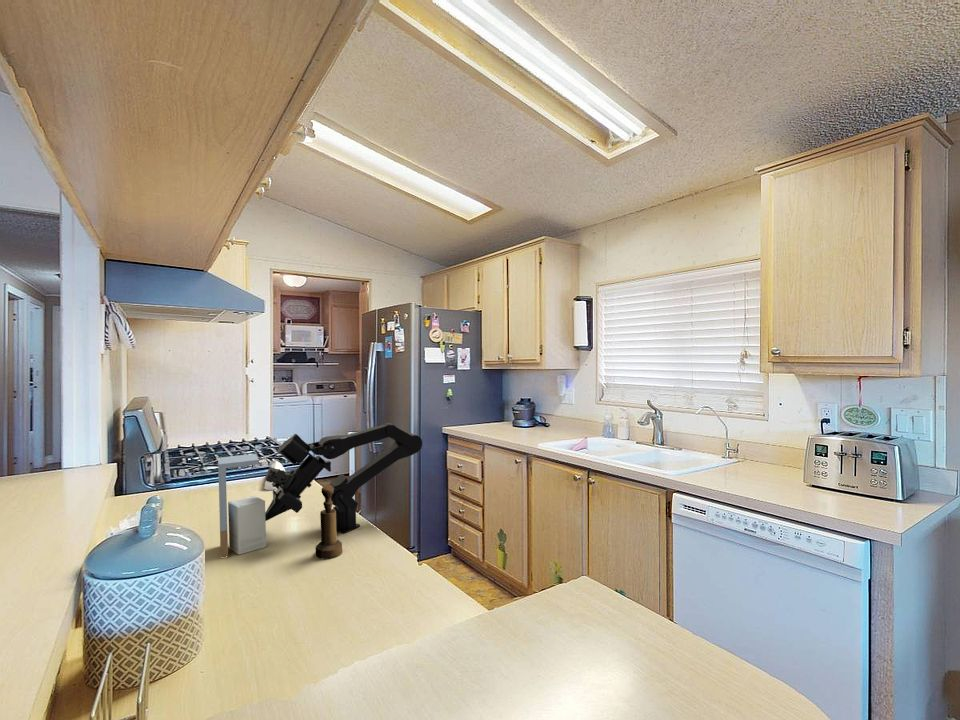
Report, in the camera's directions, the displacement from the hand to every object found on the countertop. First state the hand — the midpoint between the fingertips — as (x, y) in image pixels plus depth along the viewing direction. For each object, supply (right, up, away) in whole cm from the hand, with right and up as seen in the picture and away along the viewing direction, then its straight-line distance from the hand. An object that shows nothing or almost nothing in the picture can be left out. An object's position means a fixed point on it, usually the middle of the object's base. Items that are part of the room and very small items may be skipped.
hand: (263, 519), depth 132 cm
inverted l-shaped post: (-5, -7, -3) cm, 9 cm away
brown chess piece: (+20, -7, -7) cm, 22 cm away
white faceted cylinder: (-23, -6, +63) cm, 67 cm away
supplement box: (-3, -7, -2) cm, 8 cm away
